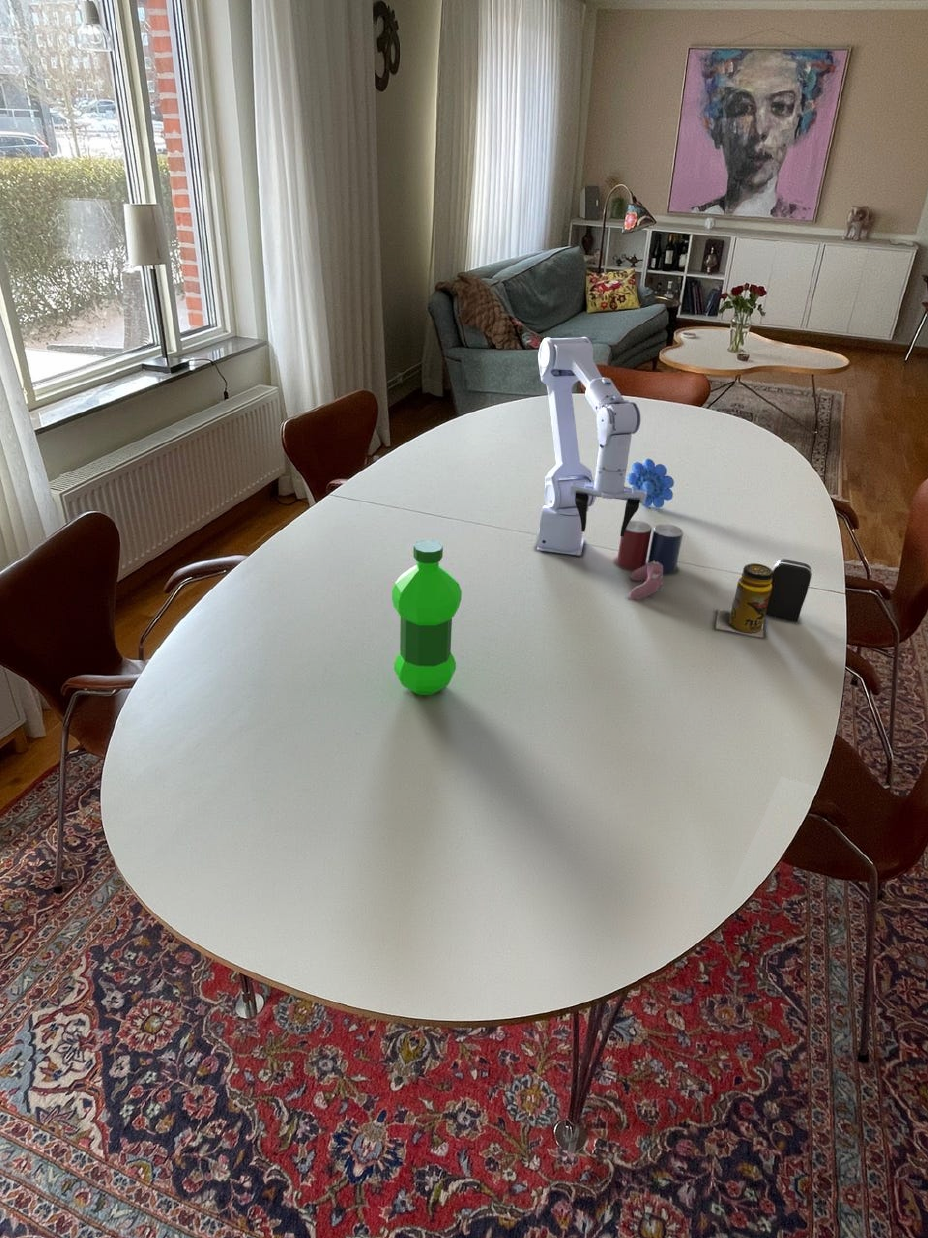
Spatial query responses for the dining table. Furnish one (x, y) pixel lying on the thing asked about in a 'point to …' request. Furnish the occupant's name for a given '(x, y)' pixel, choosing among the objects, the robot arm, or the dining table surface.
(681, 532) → the tin can navy
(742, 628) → the condiment
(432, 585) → the plastic bottle
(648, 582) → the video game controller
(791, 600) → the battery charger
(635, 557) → the tin can burgundy
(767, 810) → the dining table surface
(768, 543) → the dining table surface
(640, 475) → the blue flower
